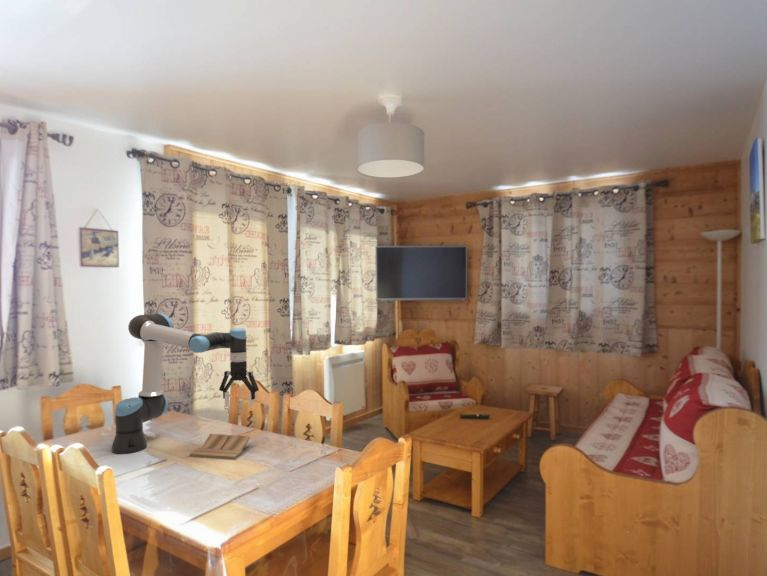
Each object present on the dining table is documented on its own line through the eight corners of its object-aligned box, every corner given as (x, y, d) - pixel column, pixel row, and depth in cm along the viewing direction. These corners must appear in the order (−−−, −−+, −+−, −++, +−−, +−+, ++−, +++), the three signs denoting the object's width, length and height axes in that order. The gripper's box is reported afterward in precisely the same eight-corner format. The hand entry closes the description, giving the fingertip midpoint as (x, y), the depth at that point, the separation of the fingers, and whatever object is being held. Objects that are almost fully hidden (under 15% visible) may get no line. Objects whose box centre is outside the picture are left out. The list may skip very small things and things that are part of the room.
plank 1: (201, 449, 228) (201, 447, 228) (210, 435, 236) (210, 433, 236) (221, 451, 226) (220, 449, 226) (229, 436, 234) (229, 434, 234)
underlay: (186, 459, 219) (186, 453, 219) (210, 444, 239) (210, 439, 239) (235, 462, 215) (235, 457, 215) (256, 447, 234) (255, 442, 234)
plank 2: (222, 451, 226) (221, 449, 226) (230, 436, 234) (230, 434, 234) (242, 452, 224) (241, 450, 224) (249, 437, 232) (249, 436, 232)
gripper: (211, 361, 231) (211, 406, 231) (258, 362, 226) (259, 408, 226) (219, 359, 238) (220, 403, 238) (265, 360, 234) (266, 404, 234)
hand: (239, 405), depth 232 cm, fingers open, 12 cm apart
